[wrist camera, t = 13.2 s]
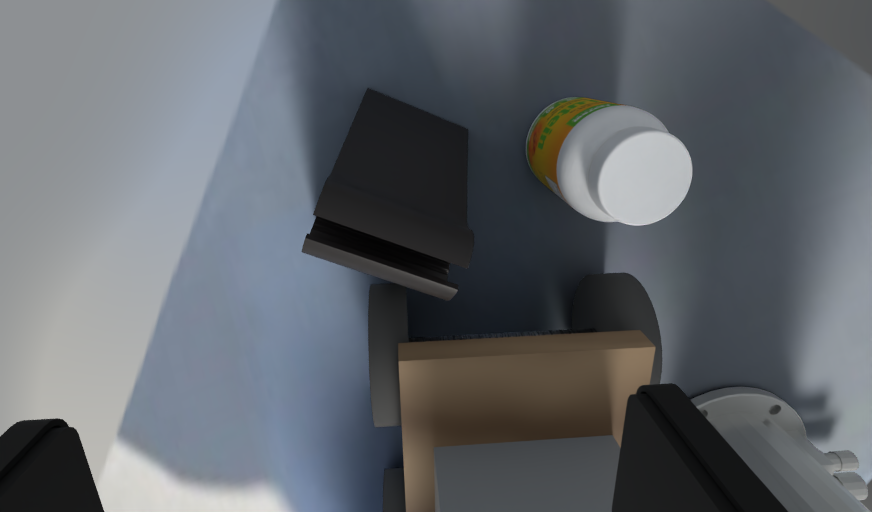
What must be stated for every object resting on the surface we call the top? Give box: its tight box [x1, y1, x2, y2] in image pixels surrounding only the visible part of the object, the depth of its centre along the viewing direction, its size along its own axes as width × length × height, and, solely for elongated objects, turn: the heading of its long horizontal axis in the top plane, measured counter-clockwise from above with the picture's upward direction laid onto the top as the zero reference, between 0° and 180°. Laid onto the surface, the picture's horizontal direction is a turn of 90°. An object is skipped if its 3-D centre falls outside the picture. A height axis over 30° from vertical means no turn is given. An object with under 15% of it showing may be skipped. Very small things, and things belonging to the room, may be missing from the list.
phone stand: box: [302, 88, 474, 301], centre depth 24 cm, size 9×6×12 cm, turn 158°
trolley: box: [368, 273, 662, 512], centre depth 27 cm, size 22×15×18 cm
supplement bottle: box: [526, 97, 692, 226], centre depth 25 cm, size 5×5×10 cm
